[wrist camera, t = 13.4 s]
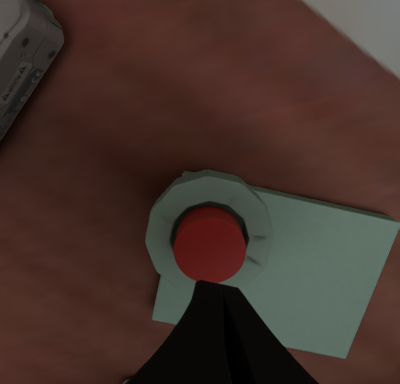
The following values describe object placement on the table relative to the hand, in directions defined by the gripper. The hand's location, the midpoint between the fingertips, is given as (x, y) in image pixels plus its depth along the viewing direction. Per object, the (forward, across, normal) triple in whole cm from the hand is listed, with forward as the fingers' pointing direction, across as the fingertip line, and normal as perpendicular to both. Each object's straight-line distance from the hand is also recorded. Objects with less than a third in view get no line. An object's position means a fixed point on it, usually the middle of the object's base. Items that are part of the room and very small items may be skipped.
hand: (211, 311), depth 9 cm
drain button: (+6, 0, 0) cm, 6 cm away
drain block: (+8, -4, +2) cm, 9 cm away
